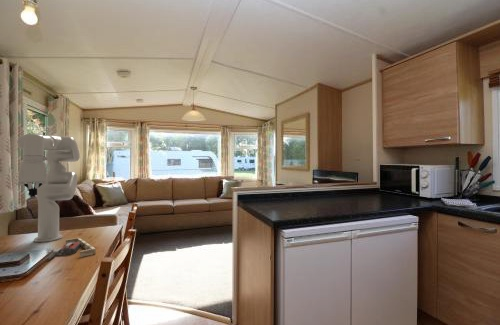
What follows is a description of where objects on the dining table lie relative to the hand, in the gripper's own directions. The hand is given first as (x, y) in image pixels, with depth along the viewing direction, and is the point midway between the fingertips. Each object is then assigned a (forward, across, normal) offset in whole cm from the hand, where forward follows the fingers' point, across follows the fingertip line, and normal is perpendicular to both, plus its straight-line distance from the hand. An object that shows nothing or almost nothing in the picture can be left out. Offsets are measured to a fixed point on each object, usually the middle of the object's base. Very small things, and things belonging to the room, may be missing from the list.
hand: (32, 196), depth 120 cm
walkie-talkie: (+28, -11, +13) cm, 33 cm away
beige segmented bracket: (+27, -17, +11) cm, 34 cm away
